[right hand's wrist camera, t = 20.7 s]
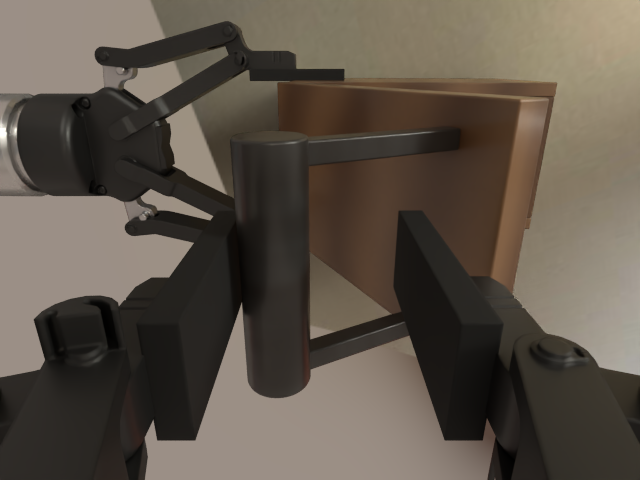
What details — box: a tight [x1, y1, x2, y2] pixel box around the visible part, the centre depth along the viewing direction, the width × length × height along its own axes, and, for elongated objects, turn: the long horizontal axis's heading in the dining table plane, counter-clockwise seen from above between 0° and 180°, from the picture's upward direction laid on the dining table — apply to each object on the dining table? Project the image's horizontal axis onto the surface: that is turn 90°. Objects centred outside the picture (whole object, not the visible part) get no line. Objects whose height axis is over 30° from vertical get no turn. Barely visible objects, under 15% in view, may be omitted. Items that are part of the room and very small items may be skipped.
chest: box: [290, 78, 557, 229], centre depth 33 cm, size 16×9×11 cm, turn 90°
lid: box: [230, 82, 549, 398], centre depth 19 cm, size 17×9×9 cm
